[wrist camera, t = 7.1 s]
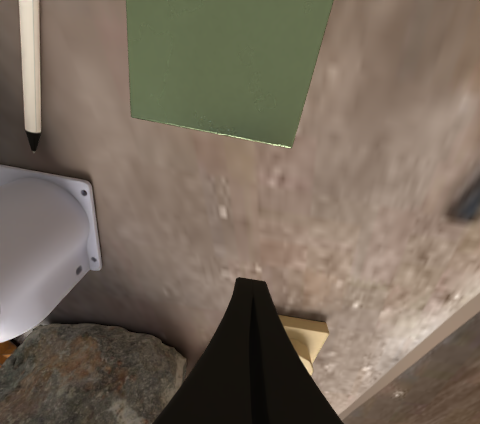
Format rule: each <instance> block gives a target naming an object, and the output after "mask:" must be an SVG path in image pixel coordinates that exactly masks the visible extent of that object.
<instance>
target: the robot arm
mask: <svg viewBox="0 0 480 424" xmlns="http://www.w3.org/2000/svg"><path fill="white" fill-rule="evenodd" d="M84 190H85V191H86V192H87V194H86V193H85V192H84ZM101 268H102V260H101V252H100V245H99V237H98V229H97V222H96V214H95V206H94V199H93V191H92V185H91V184H90V182H88V181H87V180H83V179H77V178H72V177H66V176H61V175H55V174H50V173H44V172H39V171H33V170H28V169H23V168H17V167H12V166H6V165H1V164H0V343H1V342H5V341H8V340H10V339H13V338H15V337H17V336H19V335H21V334H23V333H25V332H27V331H28V330H30V329H32V328H33V327H35V326H36V325H37V324H39V323H40V322H41V321H42V320H44V319H45V318H46V317H47V316H48V315H49V313H50V312H51V311H52V310H53V309H54V308H55V307H56V306H57V305H58V304H59V303H60V302H61V300H62V299H63V298H64V297H65V296H66V295H67V294H68V293H69V292H70V291H71V290H72V288H73V287H74V286H75V285H76V284H77V283H78V282H79V281H80V280H81V279H82V278H83V276H84V275H85V274H86V273H87V272H88V271H89V270H94V271H99V270H100V269H101ZM152 424H344V423H343V422H342V421H341V420H340V418H339V417H338V415H337V414H336V412H335V411H334V410H333V408H332V407H331V405H330V404H329V403H328V401H327V400H326V398H325V397H324V395H323V394H322V393H321V391H320V390H319V388H318V387H317V385H316V384H315V382H314V380H313V379H312V377H311V376H310V374H309V373H308V371H307V369H306V368H305V366H304V364H303V363H302V361H301V359H300V357H299V356H298V354H297V352H296V350H295V348H294V347H293V345H292V343H291V341H290V339H289V337H288V335H287V333H286V331H285V329H284V327H283V324H282V322H281V320H280V318H279V316H278V313H277V311H276V309H275V306H274V304H273V301H272V298H271V296H270V293H269V290H268V287H267V284H266V282H265V281H259V280H252V279H246V278H240V277H239V278H237V279H236V282H235V287H234V291H233V295H232V298H231V301H230V303H229V305H228V308H227V310H226V312H225V315H224V317H223V319H222V321H221V323H220V324H219V326H218V328H217V330H216V332H215V334H214V336H213V338H212V339H211V341H210V343H209V345H208V346H207V348H206V349H205V351H204V353H203V354H202V356H201V357H200V359H199V361H198V362H197V364H196V365H195V367H194V368H193V370H192V371H191V373H190V374H189V376H188V377H187V378H186V380H185V381H184V383H183V384H182V385H181V387H180V388H179V389H178V391H177V392H176V393H175V395H174V396H173V397H172V399H171V400H170V401H169V403H168V404H167V405H166V407H165V408H164V409H163V411H162V412H161V413H160V414H159V416H158V417H157V418H156V419H155V420H154V422H153V423H152Z"/></svg>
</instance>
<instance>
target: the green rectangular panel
mask: <svg viewBox="0 0 480 424" xmlns="http://www.w3.org/2000/svg"><path fill="white" fill-rule="evenodd" d="M333 1H334V0H126V11H127V35H128V59H129V82H130V106H131V117H132V118H137V119H142V120H147V121H152V122H157V123H163V124H168V125H173V126H178V127H183V128H188V129H193V130H199V131H204V132H209V133H214V134H219V135H224V136H229V137H235V138H240V139H245V140H250V141H255V142H260V143H265V144H270V145H276V146H281V147H286V148H292V146H293V143H294V139H295V135H296V132H297V128H298V125H299V121H300V118H301V114H302V111H303V107H304V104H305V100H306V96H307V93H308V89H309V86H310V82H311V79H312V75H313V72H314V68H315V65H316V61H317V57H318V54H319V50H320V47H321V43H322V40H323V36H324V33H325V29H326V26H327V22H328V18H329V15H330V11H331V8H332V4H333Z"/></svg>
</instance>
